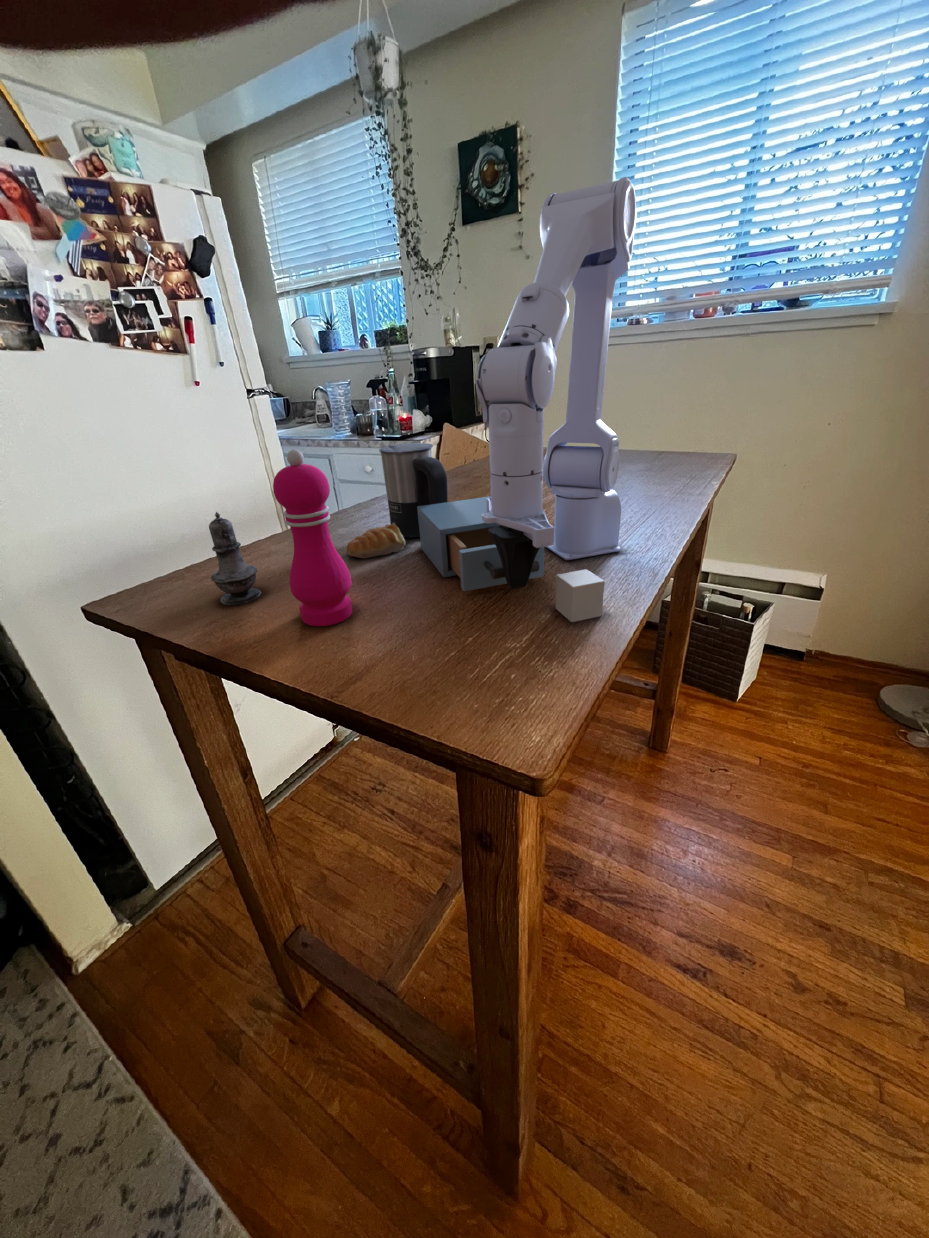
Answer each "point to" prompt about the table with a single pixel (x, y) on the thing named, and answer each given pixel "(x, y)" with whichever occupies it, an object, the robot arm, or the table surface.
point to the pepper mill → (312, 544)
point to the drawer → (481, 559)
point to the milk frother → (412, 483)
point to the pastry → (377, 542)
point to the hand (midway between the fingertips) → (517, 585)
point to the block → (579, 595)
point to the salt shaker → (231, 565)
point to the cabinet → (448, 527)
